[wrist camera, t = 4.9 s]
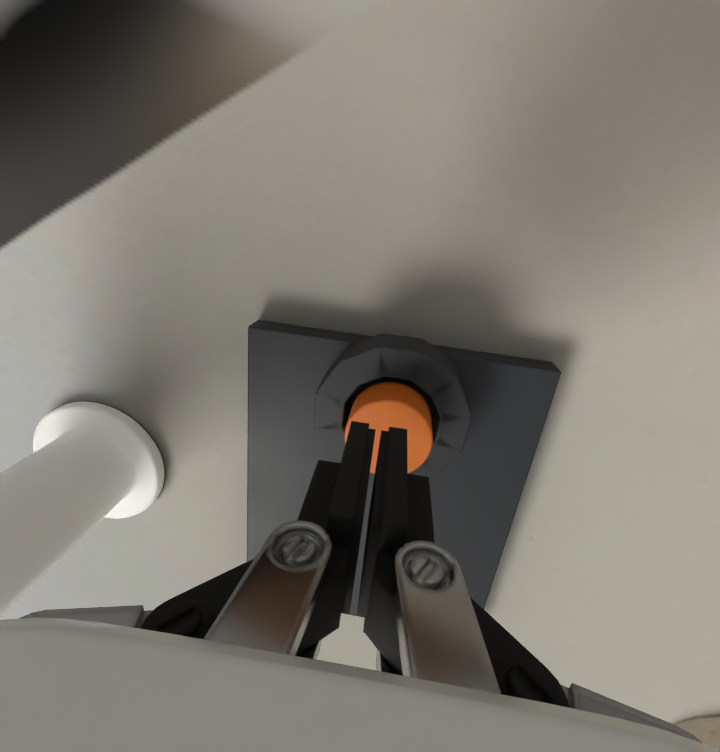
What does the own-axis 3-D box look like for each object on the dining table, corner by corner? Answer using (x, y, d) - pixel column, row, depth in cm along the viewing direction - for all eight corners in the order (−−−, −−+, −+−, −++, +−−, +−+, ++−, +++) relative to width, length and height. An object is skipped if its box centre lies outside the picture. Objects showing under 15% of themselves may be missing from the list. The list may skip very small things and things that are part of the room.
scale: (257, 307, 18) (229, 323, 15) (556, 349, 17) (584, 375, 14) (254, 577, 24) (233, 624, 21) (471, 619, 23) (479, 673, 20)
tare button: (355, 375, 15) (348, 393, 14) (437, 387, 15) (440, 407, 14) (347, 445, 17) (340, 470, 15) (423, 457, 16) (424, 484, 15)
